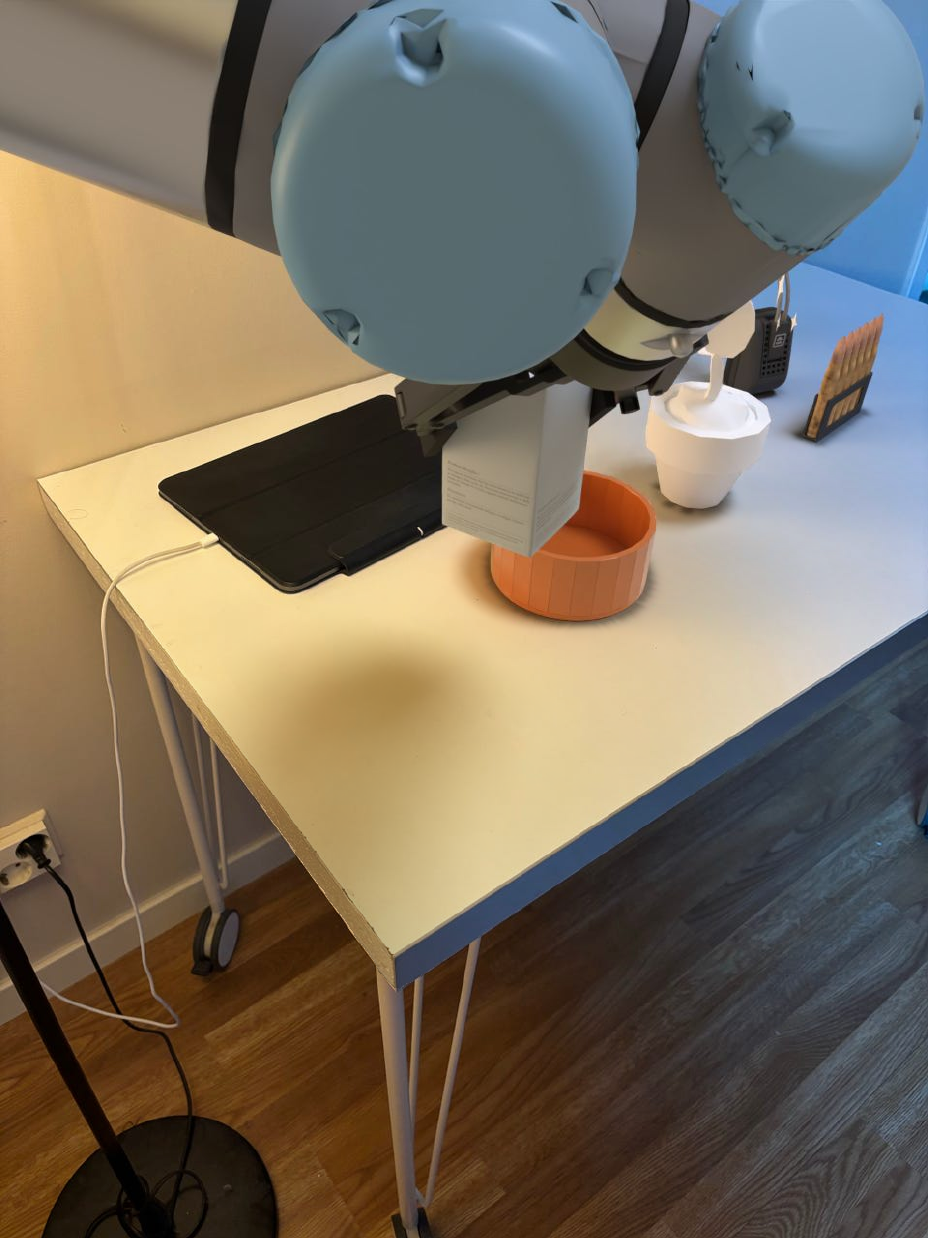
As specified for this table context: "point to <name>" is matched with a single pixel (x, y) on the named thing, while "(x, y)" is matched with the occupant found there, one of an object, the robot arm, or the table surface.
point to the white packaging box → (517, 467)
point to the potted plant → (709, 423)
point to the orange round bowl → (585, 556)
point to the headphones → (764, 350)
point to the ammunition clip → (844, 381)
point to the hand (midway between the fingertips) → (499, 426)
